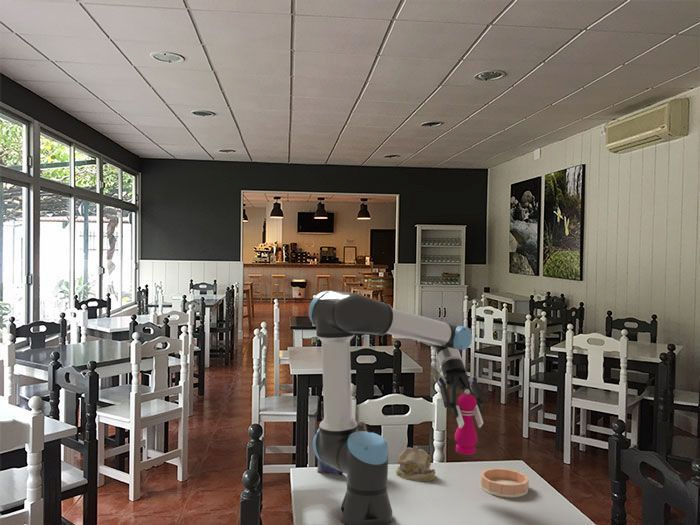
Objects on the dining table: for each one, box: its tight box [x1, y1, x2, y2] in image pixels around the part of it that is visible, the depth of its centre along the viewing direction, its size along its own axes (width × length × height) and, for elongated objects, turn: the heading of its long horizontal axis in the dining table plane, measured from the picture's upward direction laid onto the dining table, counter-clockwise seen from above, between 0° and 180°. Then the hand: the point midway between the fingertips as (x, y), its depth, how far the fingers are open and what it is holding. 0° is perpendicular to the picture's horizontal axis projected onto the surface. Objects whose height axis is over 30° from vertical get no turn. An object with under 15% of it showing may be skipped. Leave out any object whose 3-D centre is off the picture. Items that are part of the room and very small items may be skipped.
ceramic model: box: [395, 445, 436, 482], centre depth 209 cm, size 14×11×10 cm
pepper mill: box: [454, 389, 478, 456], centre depth 192 cm, size 7×7×20 cm
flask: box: [316, 458, 344, 476], centre depth 209 cm, size 9×3×11 cm, turn 72°
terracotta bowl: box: [479, 467, 530, 499], centre depth 198 cm, size 15×15×4 cm
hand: (471, 425), depth 189 cm, fingers closed on pepper mill, 6 cm apart
